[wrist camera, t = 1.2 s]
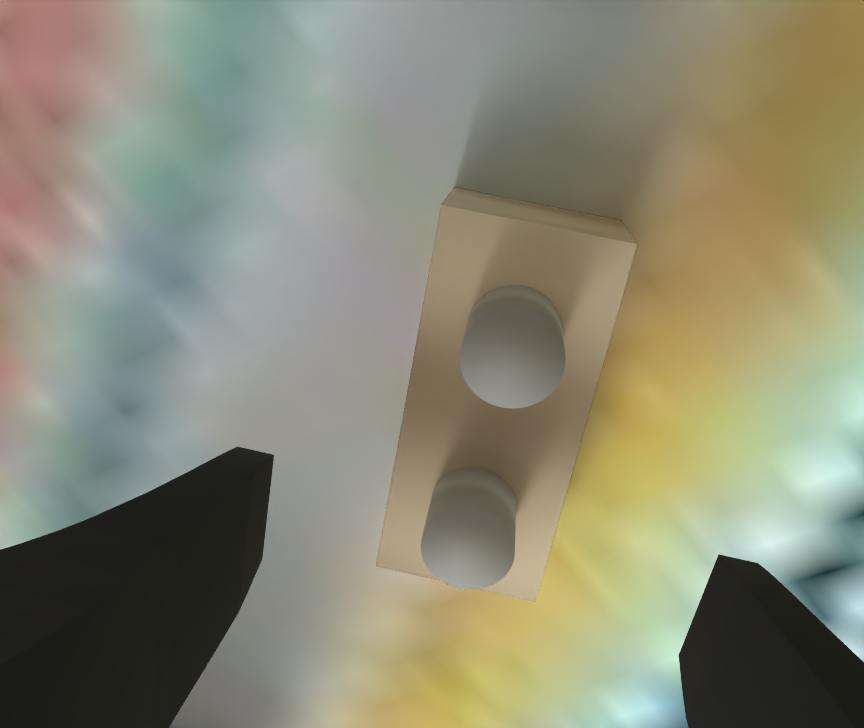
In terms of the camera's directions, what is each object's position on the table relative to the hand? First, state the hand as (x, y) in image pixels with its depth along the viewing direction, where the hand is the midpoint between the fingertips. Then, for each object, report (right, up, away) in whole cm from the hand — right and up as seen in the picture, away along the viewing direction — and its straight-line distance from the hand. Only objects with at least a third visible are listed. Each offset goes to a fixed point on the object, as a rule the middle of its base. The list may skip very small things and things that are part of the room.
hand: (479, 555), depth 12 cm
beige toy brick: (+1, +3, +7) cm, 8 cm away
